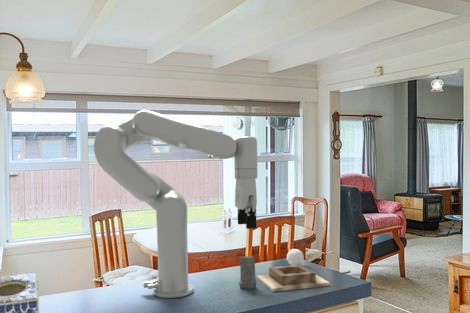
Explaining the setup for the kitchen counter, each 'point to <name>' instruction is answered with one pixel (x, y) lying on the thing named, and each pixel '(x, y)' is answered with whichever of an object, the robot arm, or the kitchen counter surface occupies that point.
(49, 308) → the kitchen counter surface
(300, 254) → the ornament
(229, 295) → the kitchen counter surface
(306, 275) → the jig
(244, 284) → the stone
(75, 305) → the kitchen counter surface
